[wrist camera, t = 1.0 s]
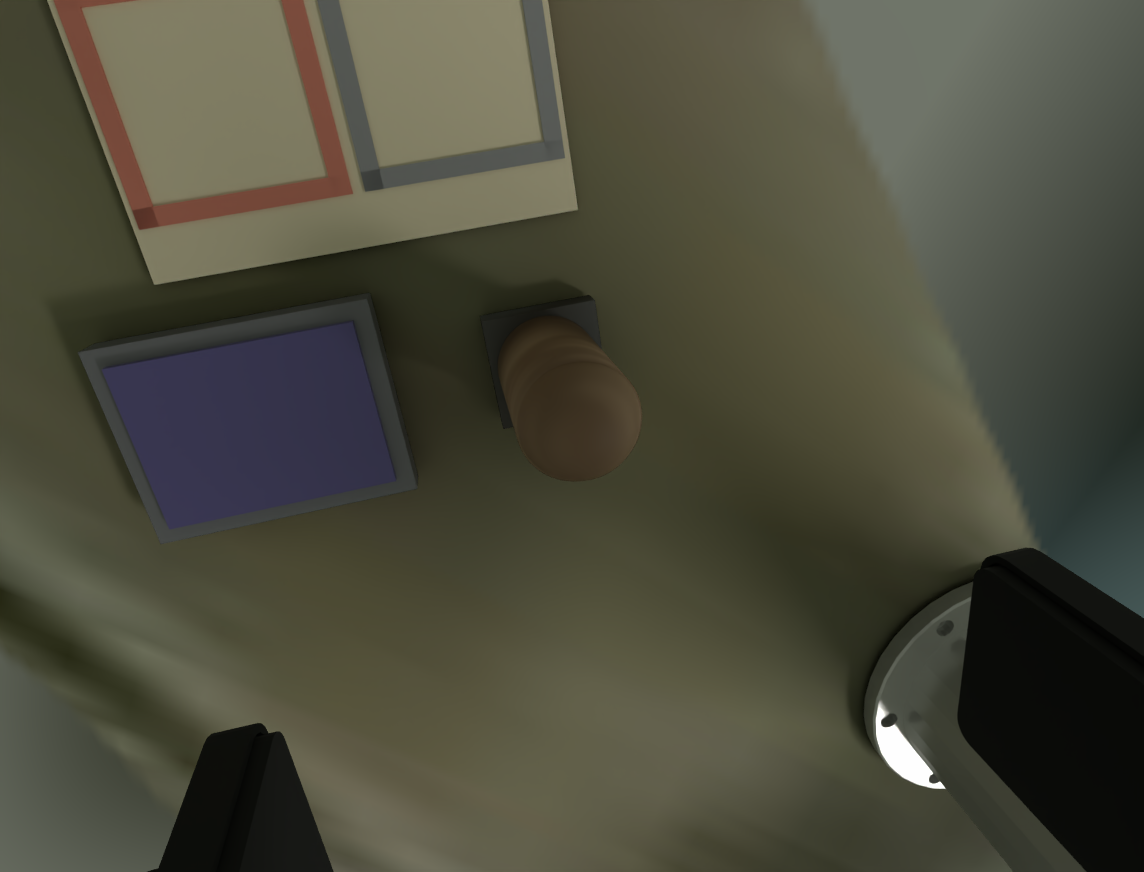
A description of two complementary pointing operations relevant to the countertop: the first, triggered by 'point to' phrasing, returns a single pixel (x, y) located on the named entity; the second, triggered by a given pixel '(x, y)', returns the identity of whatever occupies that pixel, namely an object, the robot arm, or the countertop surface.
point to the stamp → (561, 389)
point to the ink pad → (255, 416)
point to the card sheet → (318, 122)
